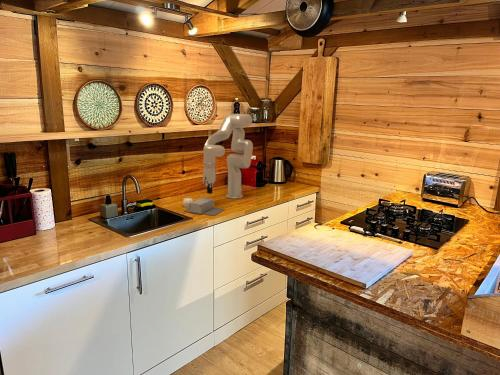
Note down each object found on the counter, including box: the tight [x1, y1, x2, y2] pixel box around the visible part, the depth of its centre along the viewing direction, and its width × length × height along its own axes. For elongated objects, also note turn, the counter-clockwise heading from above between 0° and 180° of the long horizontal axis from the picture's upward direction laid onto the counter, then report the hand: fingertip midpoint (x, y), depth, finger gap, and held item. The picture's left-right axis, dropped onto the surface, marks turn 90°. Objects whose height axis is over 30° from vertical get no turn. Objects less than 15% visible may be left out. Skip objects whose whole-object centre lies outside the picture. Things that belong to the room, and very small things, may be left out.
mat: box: [183, 207, 226, 217], centre depth 245 cm, size 15×22×1 cm
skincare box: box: [190, 196, 215, 215], centre depth 244 cm, size 8×7×16 cm
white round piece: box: [182, 197, 194, 208], centre depth 255 cm, size 6×6×5 cm
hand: (209, 193), depth 250 cm, fingers closed
